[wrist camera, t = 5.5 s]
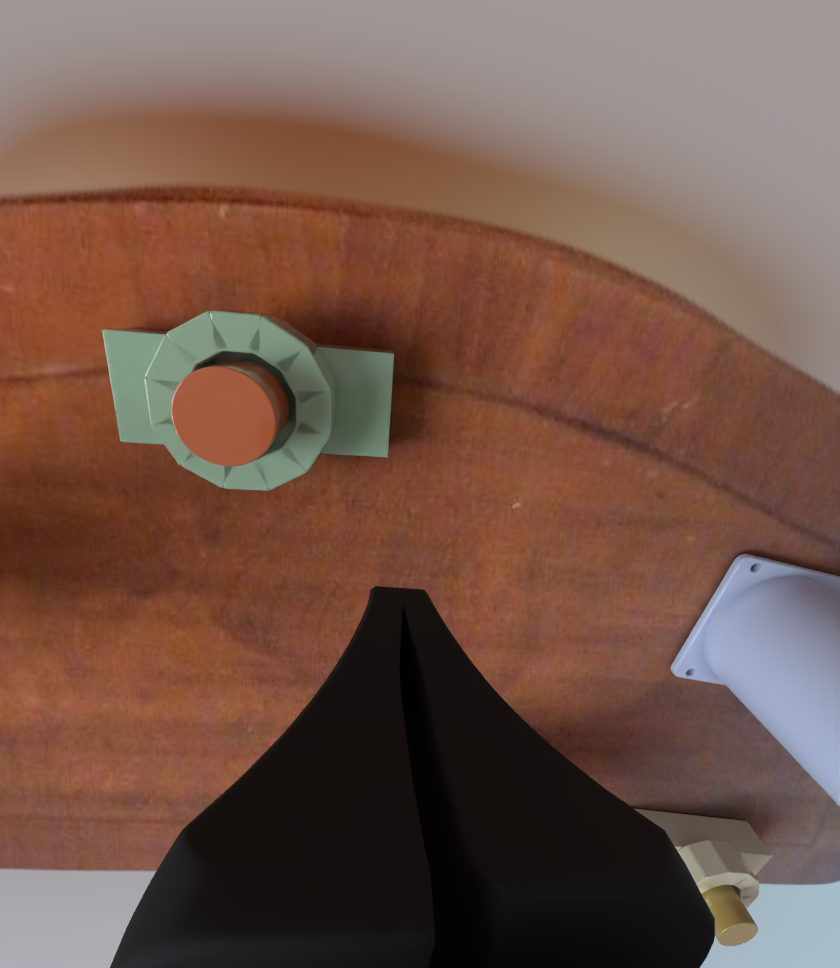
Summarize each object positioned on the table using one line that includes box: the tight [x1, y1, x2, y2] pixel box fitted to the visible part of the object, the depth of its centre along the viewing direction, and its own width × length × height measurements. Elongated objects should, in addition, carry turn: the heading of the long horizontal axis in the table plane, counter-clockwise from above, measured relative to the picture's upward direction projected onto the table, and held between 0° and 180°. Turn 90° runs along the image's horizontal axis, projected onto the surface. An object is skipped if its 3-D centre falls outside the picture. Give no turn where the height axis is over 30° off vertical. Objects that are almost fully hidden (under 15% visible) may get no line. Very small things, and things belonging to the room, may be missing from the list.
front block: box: [102, 310, 394, 491], centre depth 16 cm, size 10×6×4 cm, turn 85°
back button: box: [702, 885, 758, 946], centre depth 26 cm, size 2×2×2 cm
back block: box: [633, 808, 772, 908], centre depth 29 cm, size 10×5×4 cm, turn 74°
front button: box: [171, 360, 289, 466], centre depth 14 cm, size 3×3×2 cm
